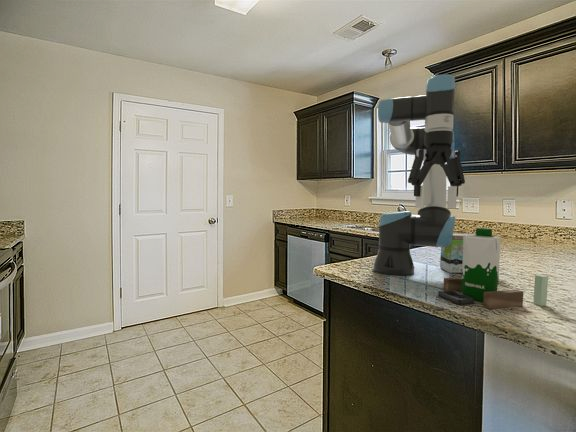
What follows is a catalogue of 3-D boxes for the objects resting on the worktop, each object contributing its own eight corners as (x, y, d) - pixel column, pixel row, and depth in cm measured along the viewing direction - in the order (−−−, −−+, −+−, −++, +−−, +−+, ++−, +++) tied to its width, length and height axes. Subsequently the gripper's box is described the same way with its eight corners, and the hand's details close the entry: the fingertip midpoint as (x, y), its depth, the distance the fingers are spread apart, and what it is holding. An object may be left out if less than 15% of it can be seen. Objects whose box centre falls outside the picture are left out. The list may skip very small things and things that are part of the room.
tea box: (449, 273, 125) (451, 235, 124) (439, 267, 135) (440, 232, 134) (490, 274, 124) (492, 235, 123) (477, 268, 134) (479, 232, 133)
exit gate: (482, 286, 107) (483, 262, 107) (487, 286, 108) (488, 262, 107) (540, 305, 89) (542, 276, 88) (546, 305, 89) (548, 276, 89)
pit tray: (438, 296, 96) (438, 291, 96) (452, 295, 98) (452, 290, 97) (458, 305, 89) (459, 299, 88) (474, 303, 90) (474, 298, 90)
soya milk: (500, 298, 95) (503, 229, 94) (491, 305, 89) (495, 231, 88) (467, 291, 101) (470, 227, 100) (457, 297, 95) (459, 229, 94)
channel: (443, 290, 102) (443, 278, 102) (472, 288, 105) (473, 276, 105) (489, 309, 86) (490, 294, 85) (522, 306, 88) (523, 291, 88)
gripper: (412, 126, 89) (409, 208, 90) (481, 131, 94) (478, 208, 96) (396, 131, 96) (393, 207, 97) (461, 136, 102) (458, 207, 103)
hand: (435, 208), depth 96 cm, fingers open, 10 cm apart
